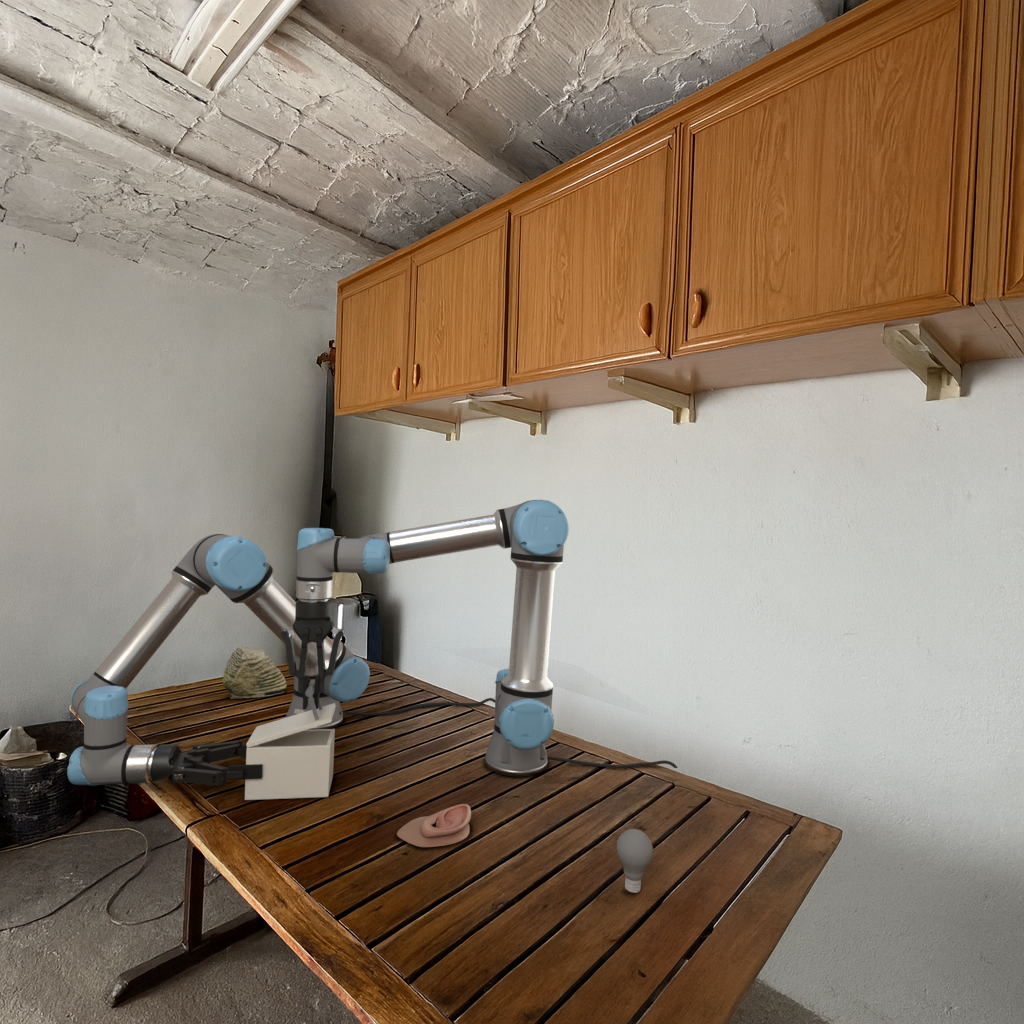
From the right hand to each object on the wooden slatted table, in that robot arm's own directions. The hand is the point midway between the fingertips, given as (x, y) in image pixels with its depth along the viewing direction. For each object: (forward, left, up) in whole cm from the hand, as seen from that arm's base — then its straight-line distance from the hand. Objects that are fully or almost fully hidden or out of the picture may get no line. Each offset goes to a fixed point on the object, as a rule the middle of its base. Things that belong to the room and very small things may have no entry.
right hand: (311, 707), depth 138 cm
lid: (+3, 0, -4) cm, 5 cm away
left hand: (+8, -1, -11) cm, 14 cm away
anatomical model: (-22, +26, -18) cm, 38 cm away
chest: (+3, -1, -18) cm, 18 cm away
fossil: (+14, -69, -18) cm, 72 cm away
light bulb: (-50, +52, -18) cm, 74 cm away
